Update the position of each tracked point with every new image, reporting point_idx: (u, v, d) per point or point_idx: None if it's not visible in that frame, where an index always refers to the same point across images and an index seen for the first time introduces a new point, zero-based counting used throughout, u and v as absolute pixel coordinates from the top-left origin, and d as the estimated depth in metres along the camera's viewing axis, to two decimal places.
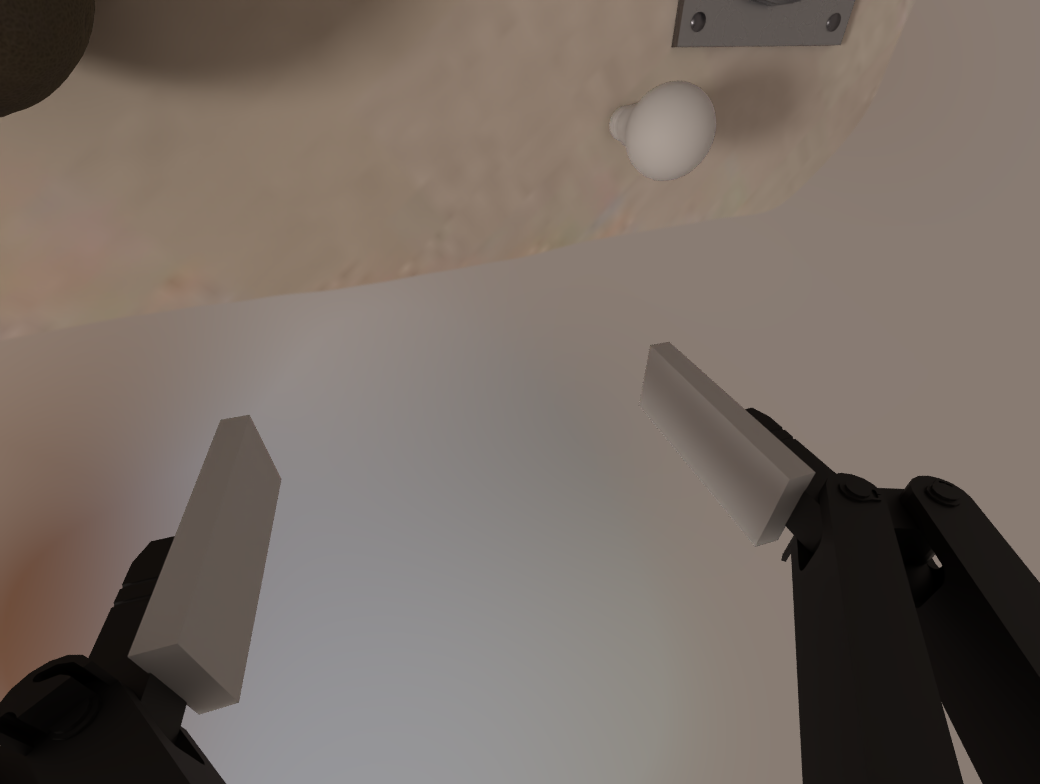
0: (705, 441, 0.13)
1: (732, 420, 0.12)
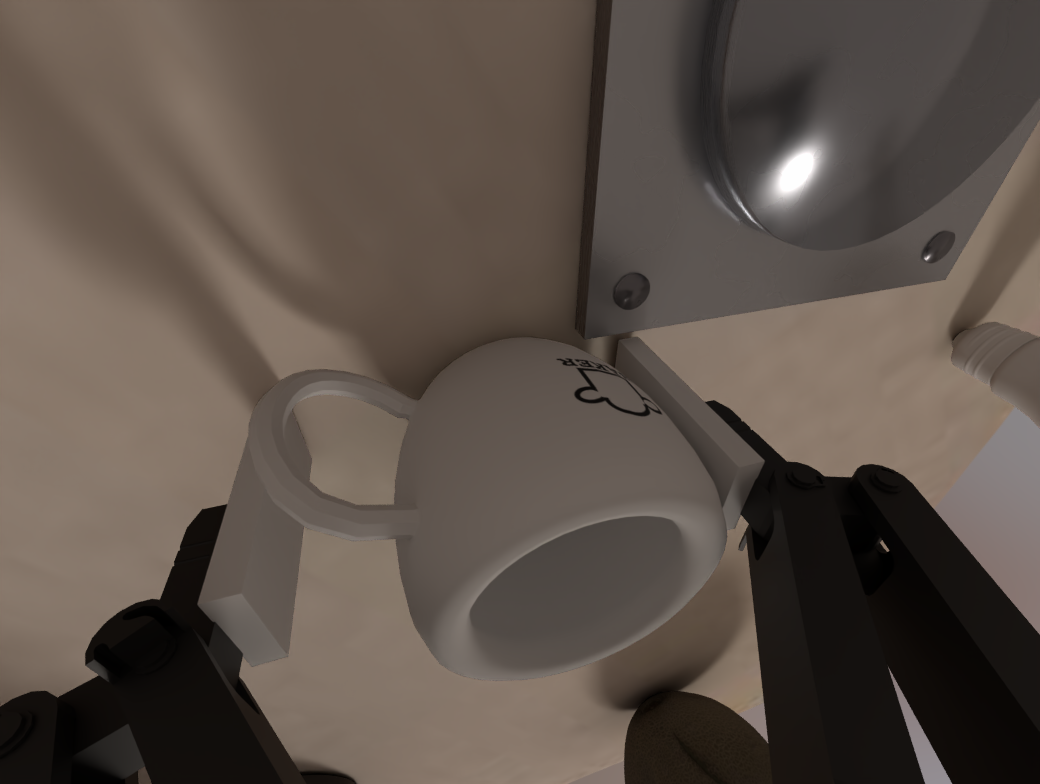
0: None
1: (690, 411, 0.13)
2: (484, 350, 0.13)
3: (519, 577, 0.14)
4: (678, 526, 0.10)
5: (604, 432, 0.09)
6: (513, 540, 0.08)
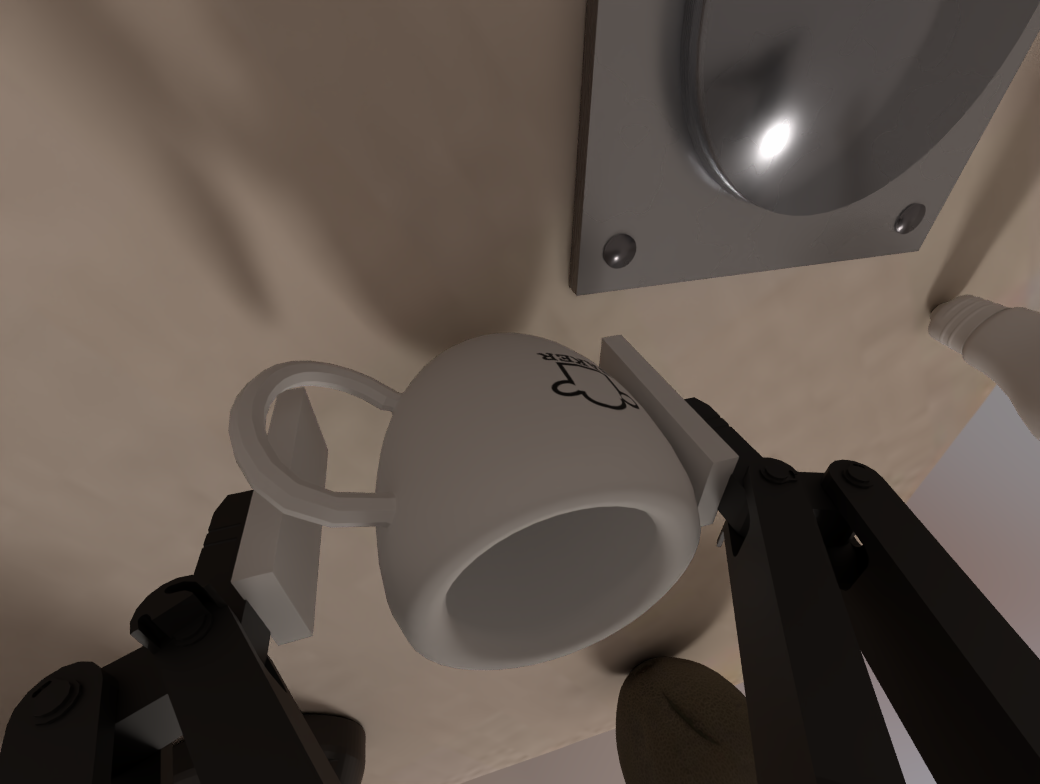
0: None
1: (669, 408, 0.13)
2: (467, 344, 0.13)
3: (500, 570, 0.14)
4: (652, 518, 0.11)
5: (578, 424, 0.09)
6: (485, 527, 0.08)
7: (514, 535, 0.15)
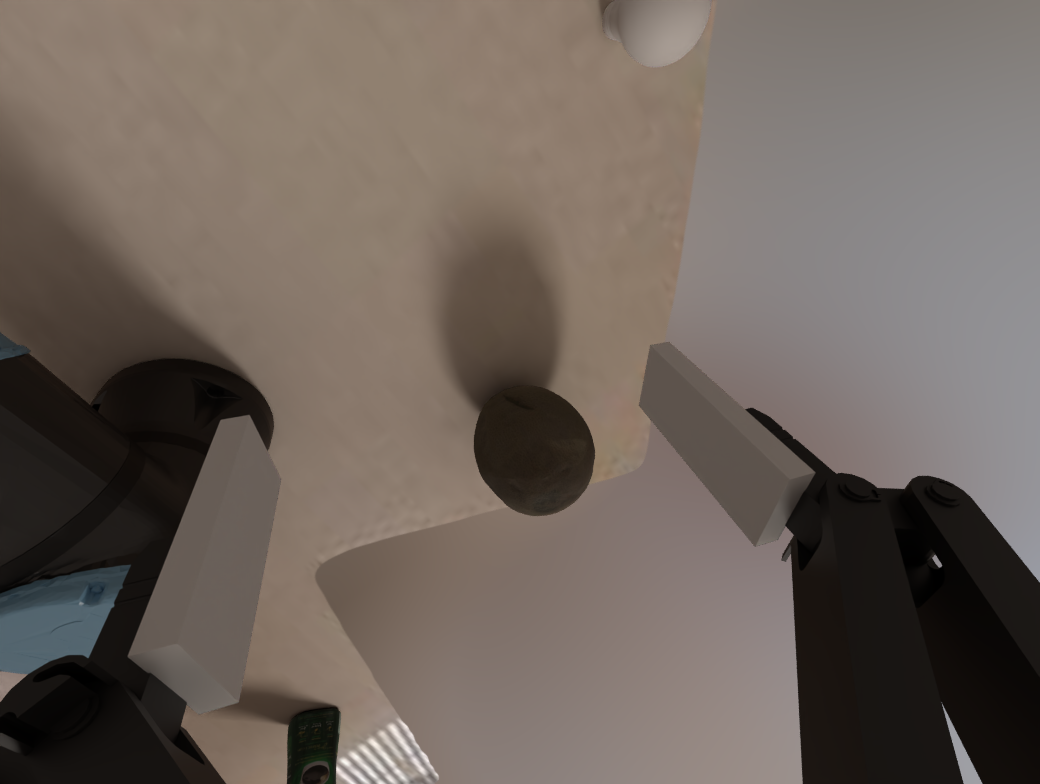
0: (705, 441, 0.13)
1: (732, 420, 0.12)
2: None
3: None
4: None
5: None
6: None
7: None
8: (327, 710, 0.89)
